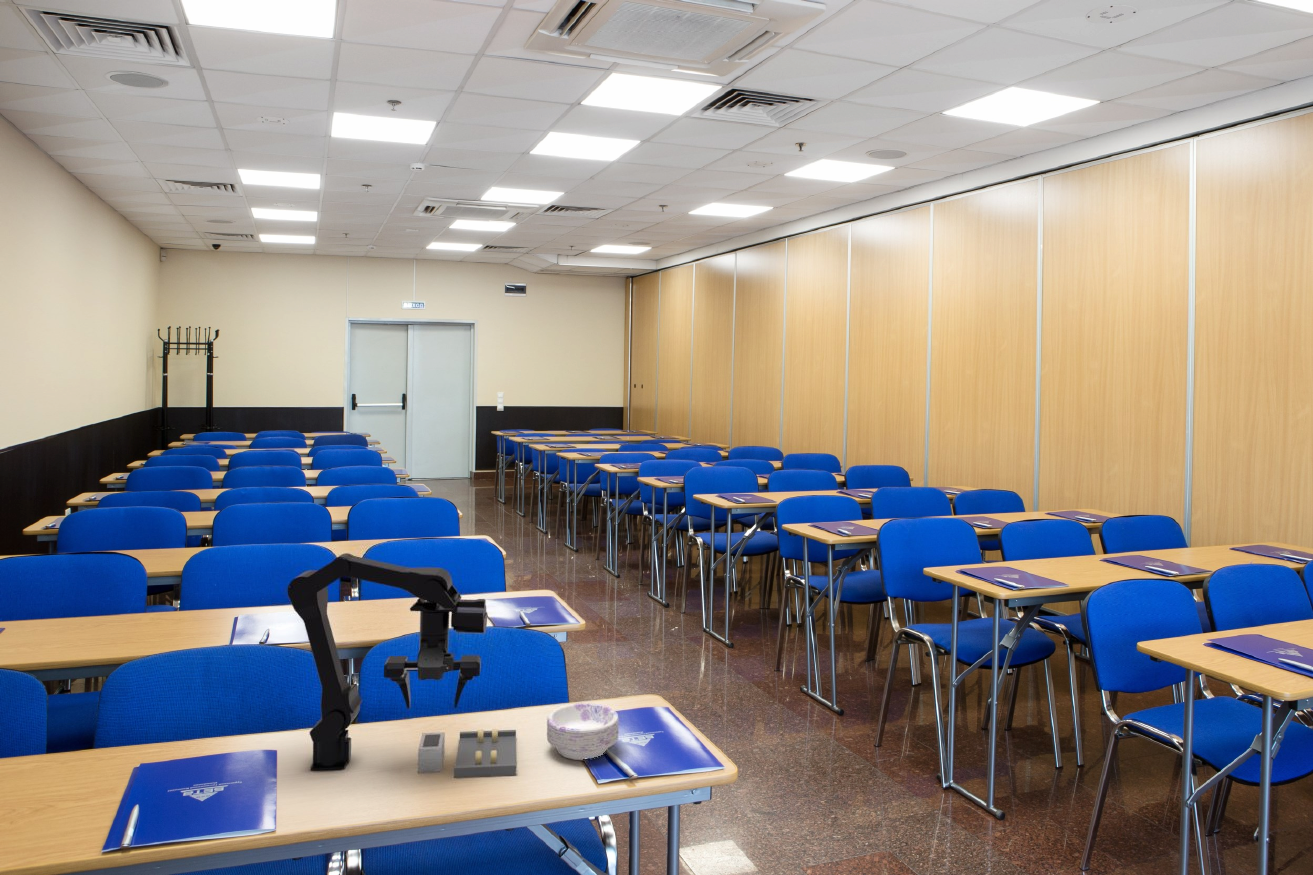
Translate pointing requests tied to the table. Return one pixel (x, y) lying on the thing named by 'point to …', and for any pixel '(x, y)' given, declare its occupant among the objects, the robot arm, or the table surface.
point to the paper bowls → (582, 730)
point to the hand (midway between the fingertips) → (432, 707)
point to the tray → (486, 754)
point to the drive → (431, 752)
